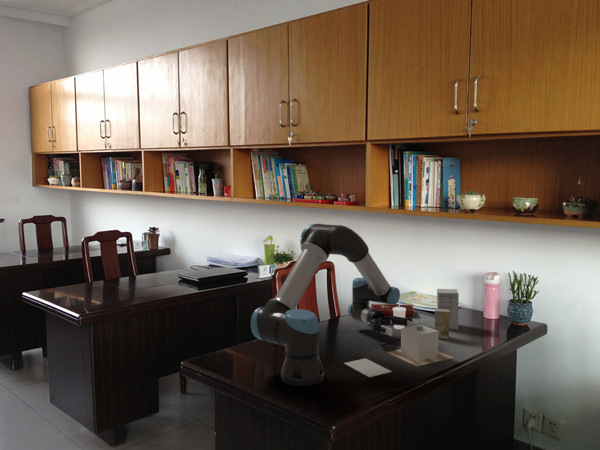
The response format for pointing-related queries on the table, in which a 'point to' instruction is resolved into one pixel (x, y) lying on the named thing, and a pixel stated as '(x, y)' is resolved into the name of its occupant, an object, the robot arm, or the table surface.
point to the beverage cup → (399, 314)
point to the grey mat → (367, 367)
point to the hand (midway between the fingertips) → (405, 330)
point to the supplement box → (449, 305)
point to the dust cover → (419, 342)
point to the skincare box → (442, 323)
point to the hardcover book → (388, 309)
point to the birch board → (422, 362)
